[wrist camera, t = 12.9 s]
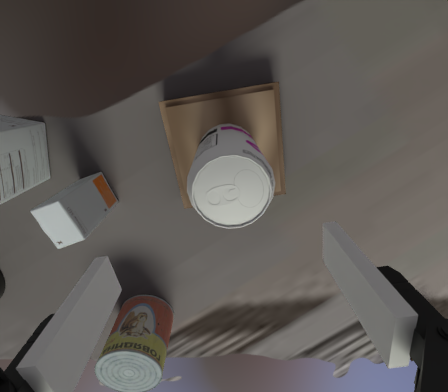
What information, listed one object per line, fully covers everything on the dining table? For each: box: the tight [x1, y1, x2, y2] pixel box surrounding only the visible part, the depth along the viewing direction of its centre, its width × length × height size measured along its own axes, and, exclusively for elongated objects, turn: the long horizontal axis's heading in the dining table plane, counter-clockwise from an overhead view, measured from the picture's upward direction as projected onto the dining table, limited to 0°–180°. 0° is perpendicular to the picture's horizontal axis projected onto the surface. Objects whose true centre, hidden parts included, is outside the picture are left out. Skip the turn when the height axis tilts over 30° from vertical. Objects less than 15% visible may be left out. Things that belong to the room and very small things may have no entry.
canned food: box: [95, 295, 174, 392], centre depth 48 cm, size 11×11×12 cm
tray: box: [159, 82, 286, 209], centre depth 38 cm, size 16×16×4 cm
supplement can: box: [187, 124, 275, 229], centre depth 29 cm, size 8×8×15 cm
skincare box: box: [31, 172, 119, 249], centre depth 37 cm, size 6×4×12 cm
